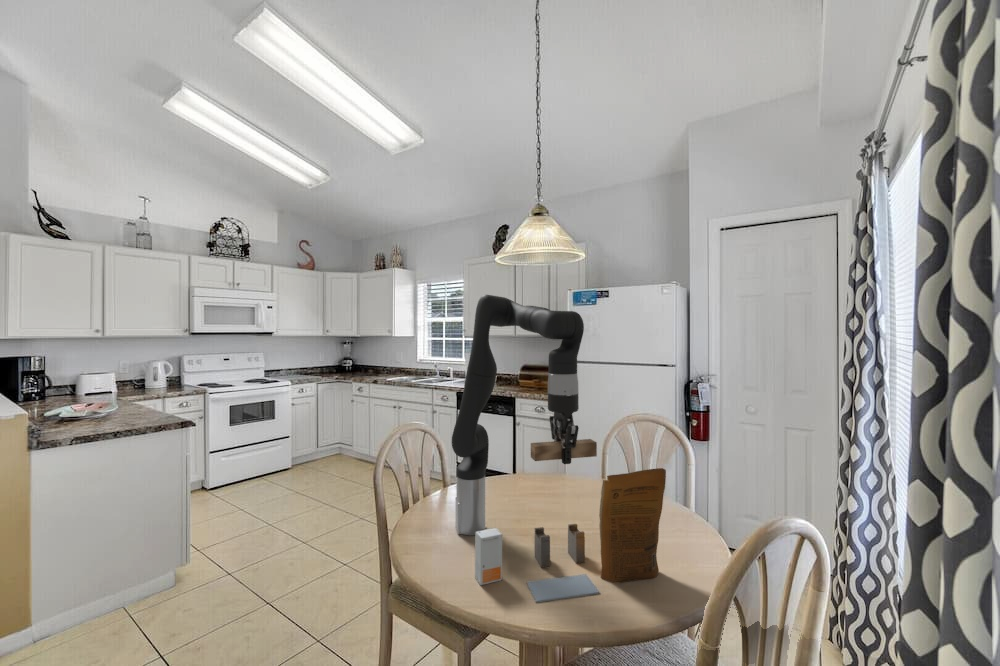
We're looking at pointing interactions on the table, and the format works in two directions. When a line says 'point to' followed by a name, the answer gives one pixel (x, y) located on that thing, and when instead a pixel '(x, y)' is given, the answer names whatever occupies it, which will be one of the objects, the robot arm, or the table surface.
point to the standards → (574, 546)
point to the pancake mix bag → (631, 524)
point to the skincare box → (488, 556)
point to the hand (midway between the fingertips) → (563, 460)
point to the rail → (554, 450)
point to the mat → (562, 588)
